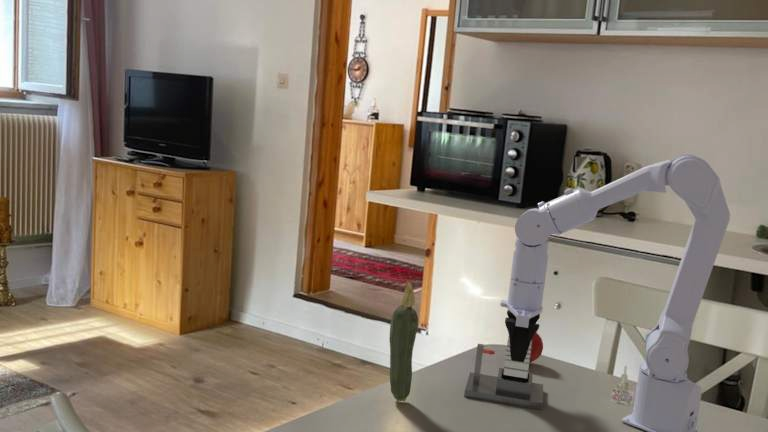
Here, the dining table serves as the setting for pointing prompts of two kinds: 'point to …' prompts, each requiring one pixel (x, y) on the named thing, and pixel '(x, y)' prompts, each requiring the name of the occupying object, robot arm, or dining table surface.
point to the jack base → (503, 386)
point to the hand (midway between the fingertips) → (517, 356)
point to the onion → (536, 347)
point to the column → (516, 364)
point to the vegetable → (402, 345)
